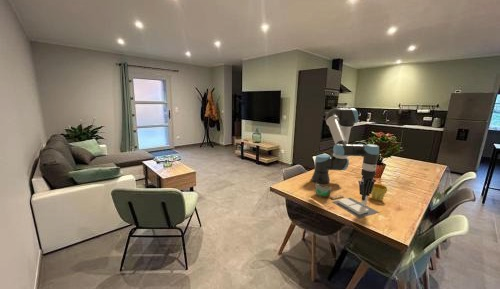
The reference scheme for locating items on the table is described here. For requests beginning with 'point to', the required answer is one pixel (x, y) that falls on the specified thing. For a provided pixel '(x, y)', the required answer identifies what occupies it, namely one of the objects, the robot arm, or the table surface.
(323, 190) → the food container
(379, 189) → the plant pot
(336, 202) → the mat
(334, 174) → the table surface
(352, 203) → the tile
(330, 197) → the turner
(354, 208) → the tile
